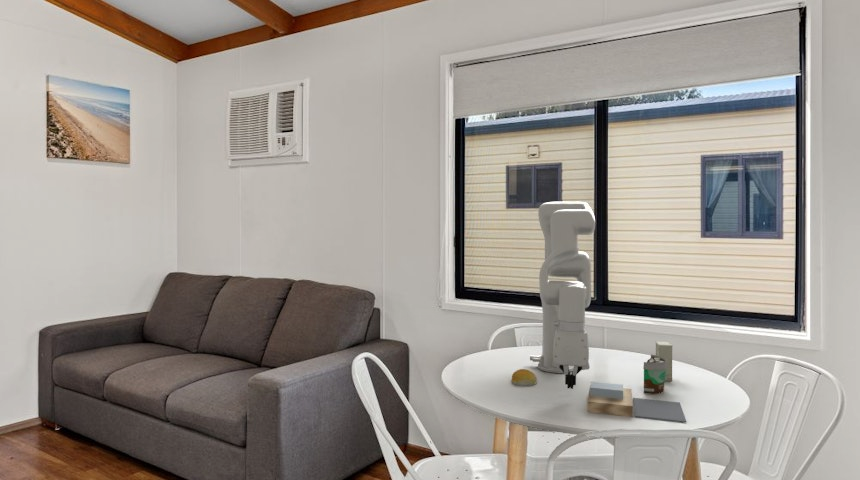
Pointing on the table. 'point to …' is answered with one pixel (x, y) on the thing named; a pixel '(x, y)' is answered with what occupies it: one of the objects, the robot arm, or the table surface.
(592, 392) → the tile
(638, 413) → the mat
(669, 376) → the skincare box
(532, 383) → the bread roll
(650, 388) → the food container
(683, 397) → the table surface
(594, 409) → the wooden block
